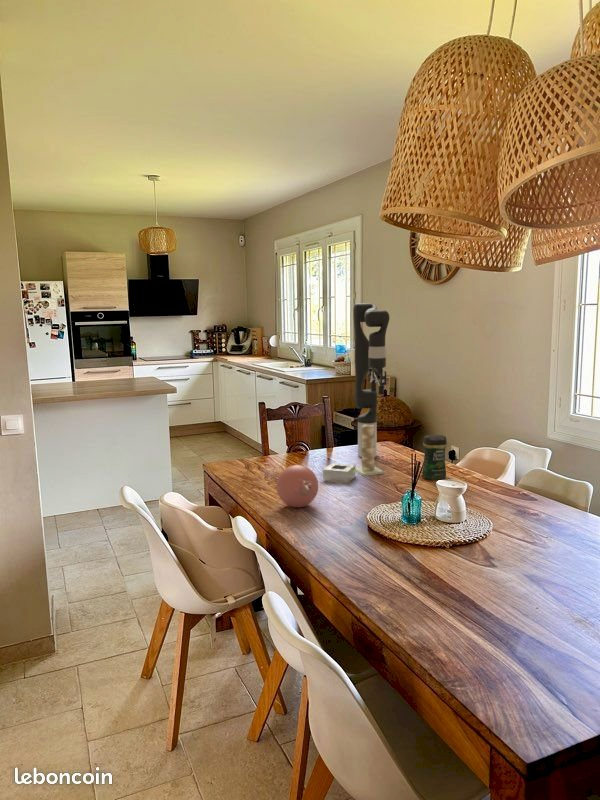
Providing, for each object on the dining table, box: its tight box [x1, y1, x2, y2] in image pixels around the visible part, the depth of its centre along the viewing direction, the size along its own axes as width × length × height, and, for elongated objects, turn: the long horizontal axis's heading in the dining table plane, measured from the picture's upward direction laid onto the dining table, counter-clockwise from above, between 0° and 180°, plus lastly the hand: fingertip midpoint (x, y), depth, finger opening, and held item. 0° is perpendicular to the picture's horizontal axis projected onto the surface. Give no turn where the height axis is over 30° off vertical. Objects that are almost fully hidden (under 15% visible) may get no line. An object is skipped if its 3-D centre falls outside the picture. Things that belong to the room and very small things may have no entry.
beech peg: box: [361, 425, 375, 471], centre depth 252 cm, size 4×4×20 cm
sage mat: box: [355, 465, 384, 477], centre depth 253 cm, size 10×10×1 cm
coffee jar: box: [421, 434, 448, 481], centre depth 241 cm, size 10×8×19 cm
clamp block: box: [322, 462, 356, 484], centre depth 243 cm, size 11×11×5 cm
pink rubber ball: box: [275, 464, 319, 508], centre depth 206 cm, size 15×20×15 cm
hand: (377, 393), depth 251 cm, fingers open, 8 cm apart
